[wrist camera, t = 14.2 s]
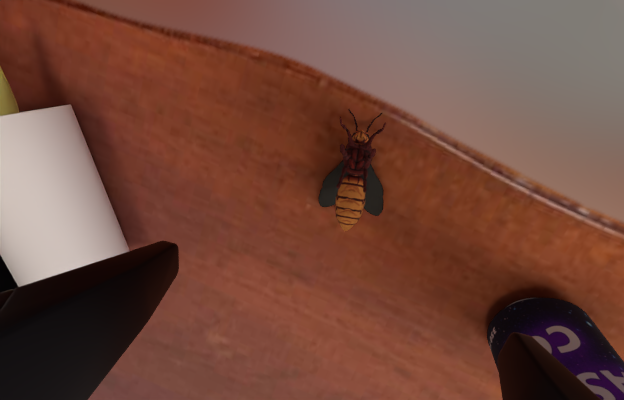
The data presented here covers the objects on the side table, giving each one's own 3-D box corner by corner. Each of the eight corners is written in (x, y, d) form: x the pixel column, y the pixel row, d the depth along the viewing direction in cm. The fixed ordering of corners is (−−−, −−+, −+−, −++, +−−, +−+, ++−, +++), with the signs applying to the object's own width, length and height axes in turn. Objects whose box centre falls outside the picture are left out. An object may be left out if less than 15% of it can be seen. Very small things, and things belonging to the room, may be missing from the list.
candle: (70, 251, 26) (-32, 39, 20) (148, 243, 25) (65, 21, 20) (-7, 306, 20) (-178, 31, 15) (91, 298, 19) (-50, 5, 14)
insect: (315, 113, 14) (330, 104, 18) (301, 243, 16) (317, 206, 21) (410, 126, 13) (401, 113, 18) (382, 258, 16) (381, 217, 20)
